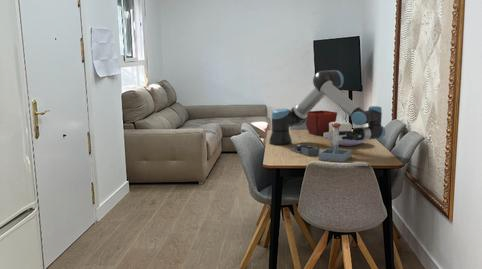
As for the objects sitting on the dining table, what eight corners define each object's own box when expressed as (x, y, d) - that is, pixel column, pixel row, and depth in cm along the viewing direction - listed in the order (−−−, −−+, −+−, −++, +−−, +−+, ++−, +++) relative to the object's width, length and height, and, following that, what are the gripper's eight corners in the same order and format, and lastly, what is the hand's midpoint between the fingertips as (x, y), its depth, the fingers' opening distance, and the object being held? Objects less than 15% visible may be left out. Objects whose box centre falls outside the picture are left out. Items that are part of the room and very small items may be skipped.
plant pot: (302, 133, 372) (302, 111, 369) (323, 131, 380) (323, 110, 377) (316, 136, 355) (316, 113, 352) (337, 134, 363) (338, 112, 360)
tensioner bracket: (290, 150, 301) (290, 144, 300) (303, 149, 304) (303, 143, 304) (307, 156, 283) (307, 149, 282) (320, 154, 286) (320, 148, 286)
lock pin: (329, 157, 274) (330, 123, 271) (332, 155, 278) (333, 122, 275) (338, 157, 272) (339, 124, 269) (340, 156, 276) (341, 123, 273)
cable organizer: (330, 139, 340) (330, 123, 338) (328, 137, 350) (329, 121, 348) (351, 139, 338) (351, 123, 336) (349, 137, 348) (350, 121, 347)
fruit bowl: (337, 139, 339) (337, 124, 337) (373, 143, 322) (374, 127, 320) (317, 145, 317) (317, 128, 315) (354, 150, 300) (355, 132, 298)
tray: (318, 159, 272) (318, 152, 271) (326, 155, 285) (326, 148, 285) (344, 162, 265) (344, 154, 265) (351, 157, 278) (351, 150, 278)
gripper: (374, 143, 270) (342, 146, 261) (348, 137, 292) (318, 140, 284) (374, 130, 269) (342, 132, 260) (348, 125, 291) (318, 127, 282)
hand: (330, 136), depth 272 cm, fingers open, 12 cm apart
